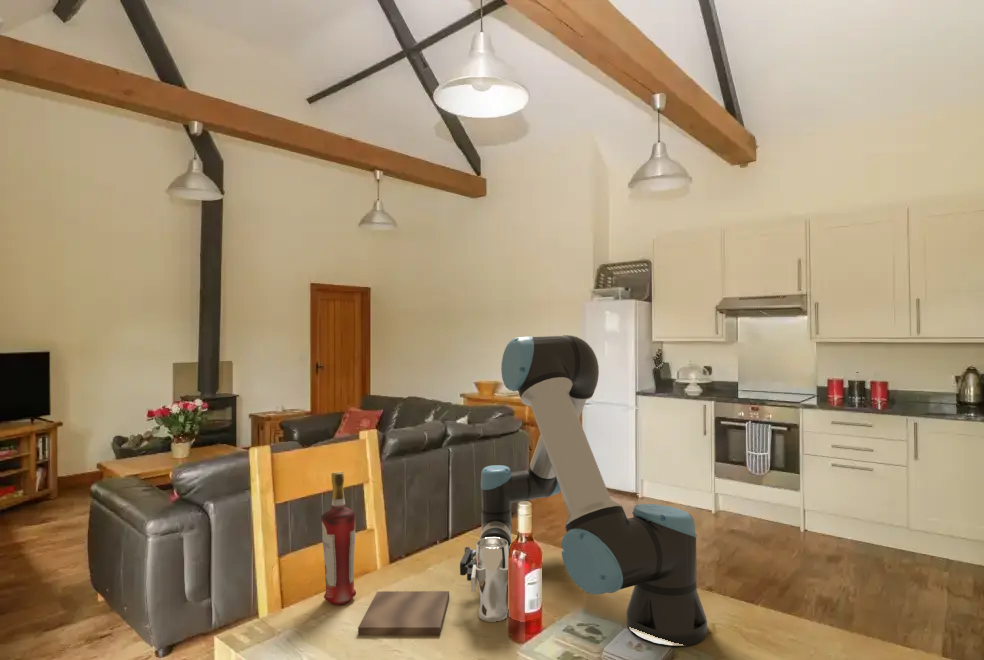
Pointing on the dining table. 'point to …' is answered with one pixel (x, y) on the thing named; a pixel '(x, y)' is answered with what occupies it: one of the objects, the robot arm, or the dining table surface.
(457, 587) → the dining table surface
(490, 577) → the silver metal tumbler
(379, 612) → the walnut board
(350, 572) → the liquor
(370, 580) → the dining table surface
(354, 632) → the dining table surface
